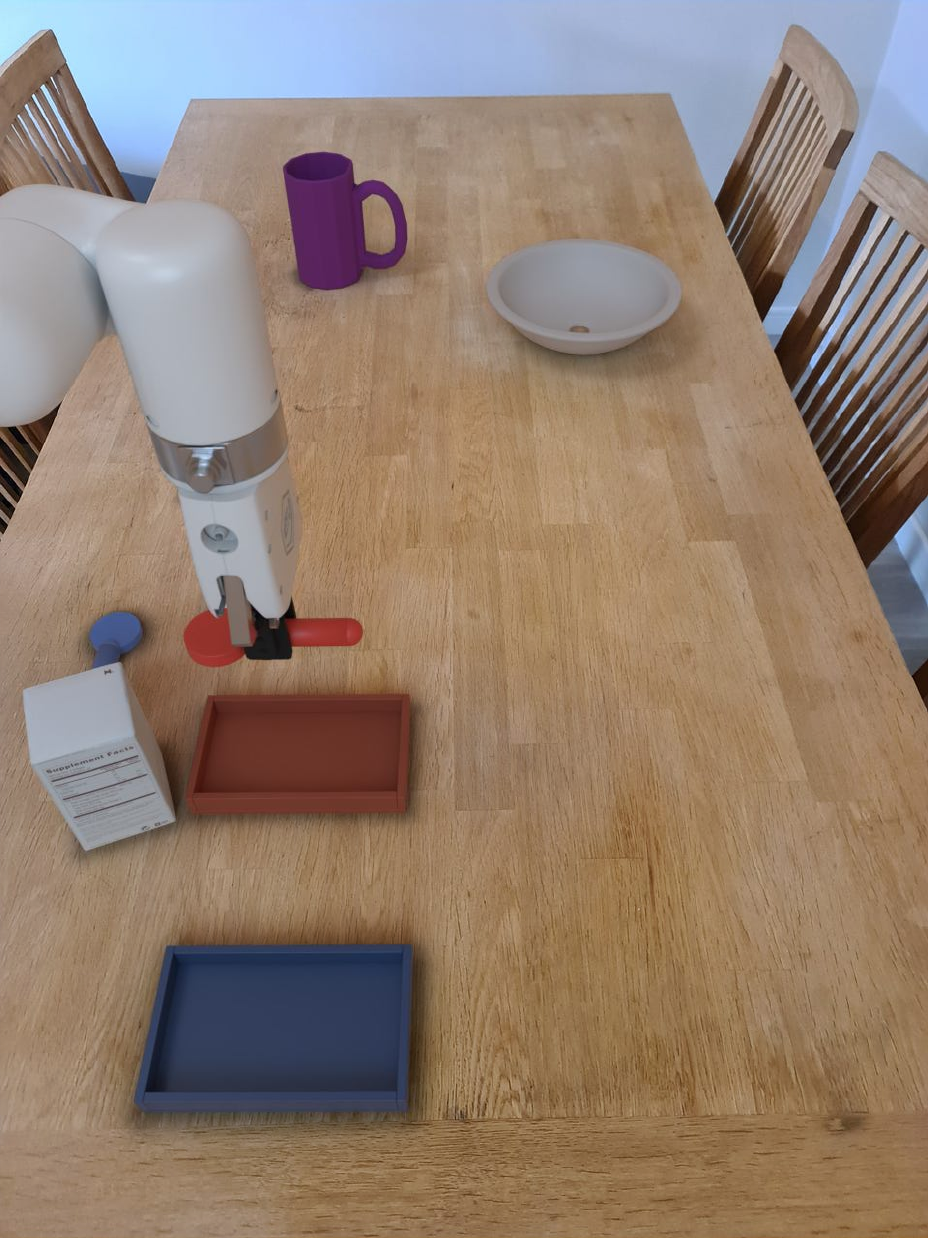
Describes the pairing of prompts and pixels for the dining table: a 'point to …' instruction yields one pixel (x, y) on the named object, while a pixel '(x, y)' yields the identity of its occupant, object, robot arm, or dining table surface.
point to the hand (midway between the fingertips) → (272, 640)
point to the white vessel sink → (583, 294)
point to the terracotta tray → (301, 755)
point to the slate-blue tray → (279, 1030)
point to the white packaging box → (97, 755)
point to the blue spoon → (114, 637)
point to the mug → (335, 220)
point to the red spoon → (214, 648)
